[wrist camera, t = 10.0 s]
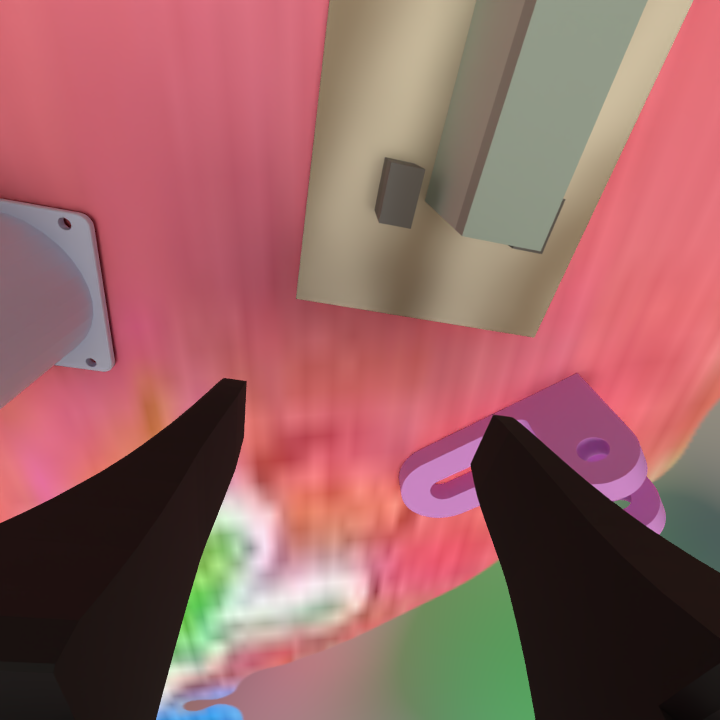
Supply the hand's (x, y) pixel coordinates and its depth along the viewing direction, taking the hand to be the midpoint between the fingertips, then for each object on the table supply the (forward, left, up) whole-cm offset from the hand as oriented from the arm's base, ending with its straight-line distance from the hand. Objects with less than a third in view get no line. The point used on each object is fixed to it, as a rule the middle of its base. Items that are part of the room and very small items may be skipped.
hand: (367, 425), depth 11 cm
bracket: (+10, -9, -10) cm, 17 cm away
